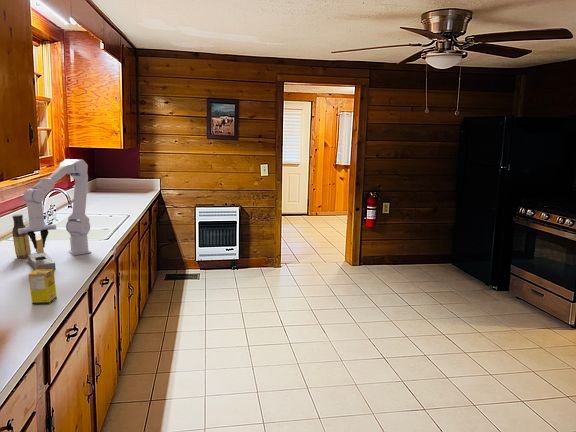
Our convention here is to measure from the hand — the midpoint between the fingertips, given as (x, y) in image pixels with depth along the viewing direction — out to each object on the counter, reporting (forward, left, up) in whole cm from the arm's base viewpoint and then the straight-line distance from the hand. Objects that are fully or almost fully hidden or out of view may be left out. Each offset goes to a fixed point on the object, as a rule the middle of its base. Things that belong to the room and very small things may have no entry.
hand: (39, 247), depth 210 cm
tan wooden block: (0, 0, -2) cm, 2 cm away
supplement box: (+49, -8, -8) cm, 50 cm away
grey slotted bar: (0, 0, -8) cm, 8 cm away
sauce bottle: (-19, -4, -8) cm, 21 cm away
